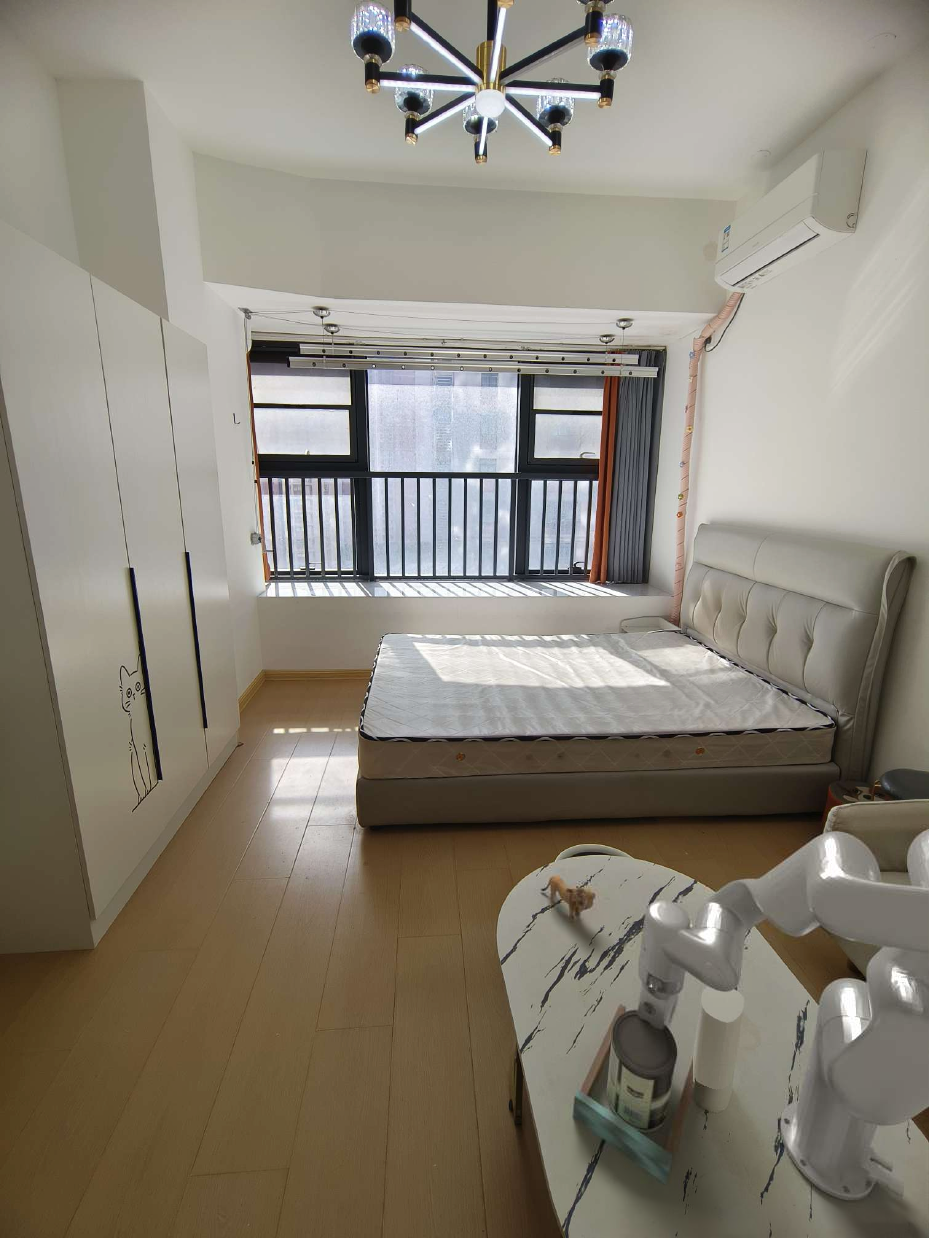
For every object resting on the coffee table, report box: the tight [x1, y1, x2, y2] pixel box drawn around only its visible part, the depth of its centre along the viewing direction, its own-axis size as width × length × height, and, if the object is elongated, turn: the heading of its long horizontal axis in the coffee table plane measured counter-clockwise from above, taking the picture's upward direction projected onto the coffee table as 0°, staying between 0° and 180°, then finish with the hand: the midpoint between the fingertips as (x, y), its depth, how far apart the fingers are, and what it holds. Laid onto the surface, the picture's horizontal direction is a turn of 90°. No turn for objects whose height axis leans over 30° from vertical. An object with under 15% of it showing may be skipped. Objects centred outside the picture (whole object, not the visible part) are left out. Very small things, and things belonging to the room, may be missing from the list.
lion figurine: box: [540, 875, 596, 922], centre depth 132 cm, size 15×5×9 cm, turn 46°
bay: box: [572, 1003, 694, 1185], centre depth 95 cm, size 15×21×5 cm
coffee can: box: [606, 1009, 678, 1133], centre depth 92 cm, size 10×10×14 cm
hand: (649, 1046), depth 100 cm, fingers closed
